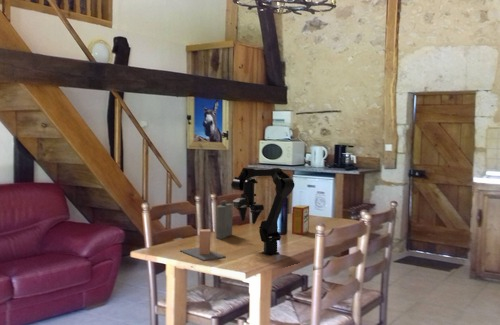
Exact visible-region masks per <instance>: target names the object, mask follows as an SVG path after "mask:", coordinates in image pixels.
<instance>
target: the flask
mask: <svg viewBox="0 0 500 325" xmlns="http://www.w3.org/2000/svg"><path fill="white" fill-rule="evenodd" d="M219 203H220V204H219V205H217V206H216V217H215V218H216V222H215V224H216V225H215V226H216V228H215V229H216V230H215V237H216V239H218V240H223V239H226V238H227V237H230V236H232V235H233V210H234V209H233V207H234V204H233V203H228V201H227V200H220V202H219Z"/></svg>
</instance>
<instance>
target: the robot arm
mask: <svg viewBox="0 0 500 325" xmlns="http://www.w3.org/2000/svg"><path fill="white" fill-rule="evenodd" d="M259 177H271V178H272V182H273V184H274V185H275V197H274V200H273V203H272V205H271V208H270V211H269V213H268V216H267V219H266V220H261V222H260V226H259V228H258V229H259V230H258V233H259V236H260V240H261V242H263V251H261V253H262V254H265V255H266V256H267V255H268V256H273V255H279V254H280V252H278V241H281V239H282V235H280V233H279V231H278V228H279V226H278V220H279V217H280V215H281V212H282V209H283V207H284V205H285V201H286V199H287V197H288V196H289V195H290V194H291V193H292V192H293V190H294V188H295V181H294V180H293V179H292V178H291V177H290V175H288V174H287V173H285V172H284V171H283V170H282V169H281V168H280V167H272V168H271V167H270V168H259V167H255V166H248V167H247V166H244V167H243V168H242V170H241V172H240V173H239V175H238V176H234V179H233V180H232V181H231V183H230V184H231V188H232V190H233V191H234V190H235V191H240V192H241V191H242V193H241V194H240V197H238V198H235V199H234V200H232V202H233V203H232V204H233V207H234V208H235V209H236V210H237V211H238V212H239V215H240V218H241V221H242V222H245V219H246V214H247V210H248V208H249V212H250V214H251V220H252V221H251V222H252V225H255V224H256V222H257V220H258V217H260V214H261V212H263V211H264V210H265V206H264V204H261V203H257V202H256V201H255V197H256V196H257V194H256V193H255V184H258V183H259V182H258V181H257V178H259ZM255 178H256V179H255Z"/></svg>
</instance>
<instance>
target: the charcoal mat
mask: <svg viewBox="0 0 500 325" xmlns="http://www.w3.org/2000/svg"><path fill="white" fill-rule="evenodd" d="M179 252H180V253H183V254H185V255H187V256H191V257H192V258H195V259H198V260H200V261H203V262H205V261H212V260H213V261H214V260H218V259H224V258H226V255H224V254H221V253H218V252H215V251H212V250H210V254H199V247H193V248H186V249H180V250H179Z"/></svg>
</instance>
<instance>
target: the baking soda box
mask: <svg viewBox="0 0 500 325" xmlns="http://www.w3.org/2000/svg"><path fill="white" fill-rule="evenodd" d="M291 210H292V211H291V212H292V214H291V215H292V219H291V234H292V235H293V234H294V235H299V234H300V235H301V236H303V235H305V234H308V233H309V228H310V205H302V204H298V205H297V204H296V205H294V206H292V209H291ZM307 232H308V233H307Z"/></svg>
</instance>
